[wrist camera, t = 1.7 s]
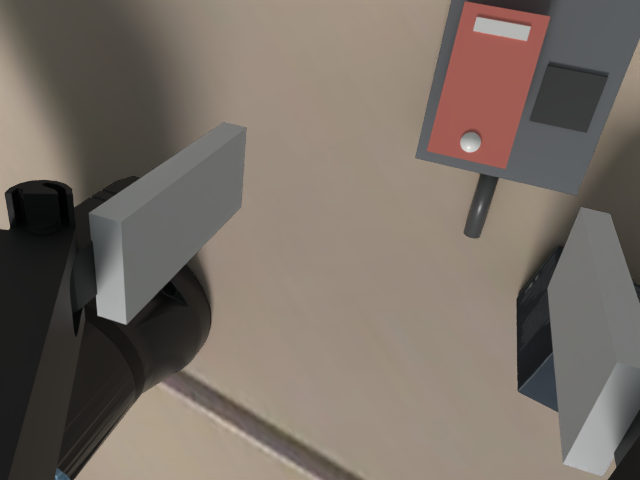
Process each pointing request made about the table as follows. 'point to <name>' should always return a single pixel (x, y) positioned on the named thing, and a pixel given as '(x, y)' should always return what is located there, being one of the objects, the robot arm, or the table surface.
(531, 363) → the box
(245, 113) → the table surface
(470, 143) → the red rectangular panel
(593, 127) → the power strip
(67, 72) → the table surface
